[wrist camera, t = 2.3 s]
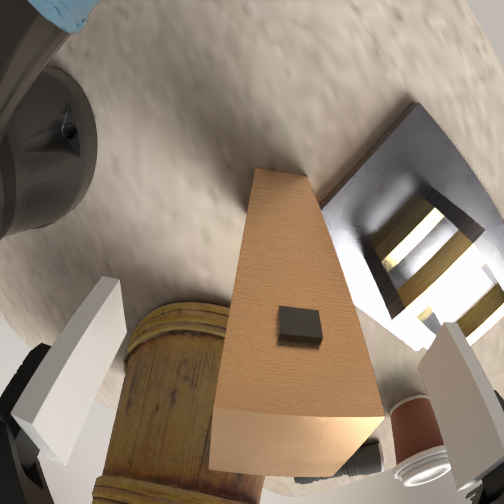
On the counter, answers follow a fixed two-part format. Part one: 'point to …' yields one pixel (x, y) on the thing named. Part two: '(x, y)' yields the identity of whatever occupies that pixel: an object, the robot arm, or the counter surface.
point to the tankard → (171, 415)
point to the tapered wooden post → (291, 346)
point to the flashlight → (356, 464)
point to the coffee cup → (417, 442)
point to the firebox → (418, 235)
